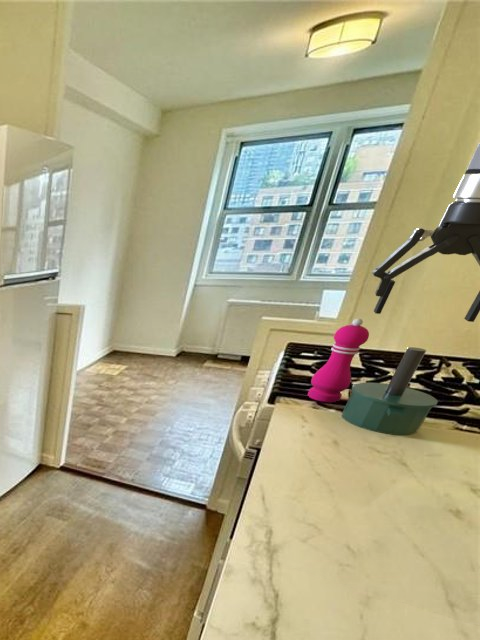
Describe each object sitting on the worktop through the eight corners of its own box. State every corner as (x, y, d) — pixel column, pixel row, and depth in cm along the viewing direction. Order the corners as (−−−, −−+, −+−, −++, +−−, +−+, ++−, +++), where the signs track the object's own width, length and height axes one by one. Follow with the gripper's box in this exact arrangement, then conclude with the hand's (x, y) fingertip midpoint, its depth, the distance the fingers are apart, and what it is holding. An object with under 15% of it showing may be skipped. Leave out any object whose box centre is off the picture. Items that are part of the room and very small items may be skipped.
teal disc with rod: (426, 394, 108) (454, 345, 103) (442, 416, 98) (473, 363, 93) (346, 383, 115) (368, 336, 110) (354, 402, 105) (378, 352, 100)
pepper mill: (346, 399, 121) (385, 319, 111) (333, 405, 118) (372, 324, 108) (312, 390, 126) (346, 313, 117) (299, 396, 123) (333, 317, 114)
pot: (408, 414, 113) (422, 388, 109) (426, 445, 100) (443, 416, 97) (337, 403, 119) (349, 378, 116) (346, 430, 106) (359, 403, 103)
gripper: (392, 201, 93) (343, 312, 103) (596, 200, 80) (518, 328, 90) (385, 200, 98) (340, 306, 109) (576, 199, 86) (504, 319, 96)
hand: (421, 316), depth 99 cm, fingers open, 13 cm apart
